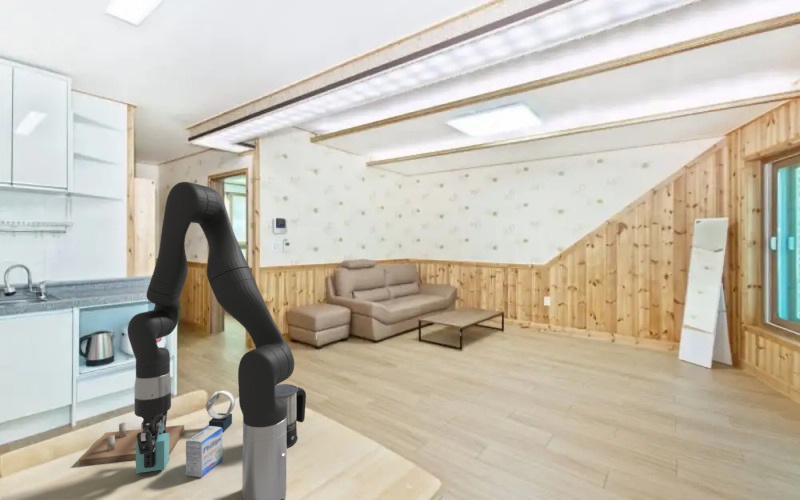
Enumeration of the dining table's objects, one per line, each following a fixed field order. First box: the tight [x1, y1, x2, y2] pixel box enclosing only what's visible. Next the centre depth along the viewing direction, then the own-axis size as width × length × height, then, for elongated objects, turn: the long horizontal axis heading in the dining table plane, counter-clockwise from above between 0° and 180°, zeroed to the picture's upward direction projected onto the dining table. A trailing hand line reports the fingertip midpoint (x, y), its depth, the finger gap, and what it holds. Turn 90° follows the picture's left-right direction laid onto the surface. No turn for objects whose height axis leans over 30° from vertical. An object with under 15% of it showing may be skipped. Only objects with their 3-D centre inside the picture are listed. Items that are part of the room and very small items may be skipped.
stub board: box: [78, 422, 185, 467], centre depth 105 cm, size 20×14×5 cm
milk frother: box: [275, 383, 307, 449], centre depth 111 cm, size 14×16×15 cm
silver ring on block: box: [205, 389, 236, 433], centre depth 116 cm, size 6×8×11 cm
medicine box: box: [185, 425, 224, 478], centre depth 95 cm, size 8×4×9 cm, turn 168°
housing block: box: [135, 433, 170, 474], centre depth 94 cm, size 6×4×7 cm, turn 106°
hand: (153, 461), depth 94 cm, fingers closed on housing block, 4 cm apart
